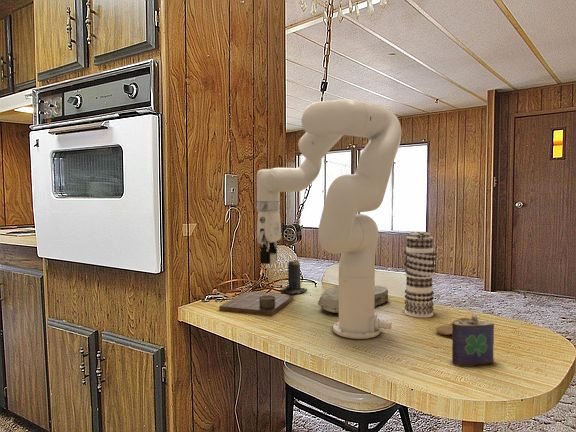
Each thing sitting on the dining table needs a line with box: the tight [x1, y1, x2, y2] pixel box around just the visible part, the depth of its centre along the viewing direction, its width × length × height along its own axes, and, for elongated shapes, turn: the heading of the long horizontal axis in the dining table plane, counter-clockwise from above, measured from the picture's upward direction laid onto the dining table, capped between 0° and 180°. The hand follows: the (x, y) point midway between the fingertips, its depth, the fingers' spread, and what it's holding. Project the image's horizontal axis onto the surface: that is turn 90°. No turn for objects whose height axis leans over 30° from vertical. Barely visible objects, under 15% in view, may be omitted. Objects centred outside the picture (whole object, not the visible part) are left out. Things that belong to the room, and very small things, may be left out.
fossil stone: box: [317, 285, 389, 314], centre depth 136 cm, size 28×15×5 cm, turn 131°
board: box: [218, 291, 294, 317], centre depth 138 cm, size 18×20×2 cm
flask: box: [451, 314, 495, 367], centre depth 90 cm, size 9×3×11 cm, turn 95°
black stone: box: [259, 295, 275, 309], centre depth 130 cm, size 5×5×3 cm
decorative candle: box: [403, 231, 437, 319], centre depth 126 cm, size 9×9×25 cm
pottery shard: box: [435, 317, 471, 336], centre depth 109 cm, size 11×4×10 cm
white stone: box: [269, 253, 277, 265], centre depth 136 cm, size 5×5×3 cm
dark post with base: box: [279, 259, 308, 296], centre depth 154 cm, size 9×8×12 cm
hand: (268, 261), depth 137 cm, fingers closed on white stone, 5 cm apart
